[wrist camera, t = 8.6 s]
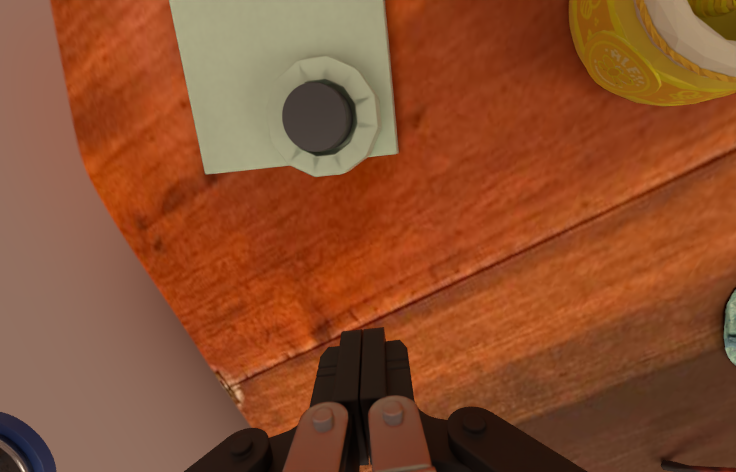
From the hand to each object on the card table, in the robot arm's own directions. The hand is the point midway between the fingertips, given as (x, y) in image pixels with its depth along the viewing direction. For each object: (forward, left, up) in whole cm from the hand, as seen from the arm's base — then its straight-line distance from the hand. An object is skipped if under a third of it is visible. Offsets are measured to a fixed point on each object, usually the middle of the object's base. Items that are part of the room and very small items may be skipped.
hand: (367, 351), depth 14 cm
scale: (-6, +12, -13) cm, 19 cm away
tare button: (-3, +9, -11) cm, 14 cm away
